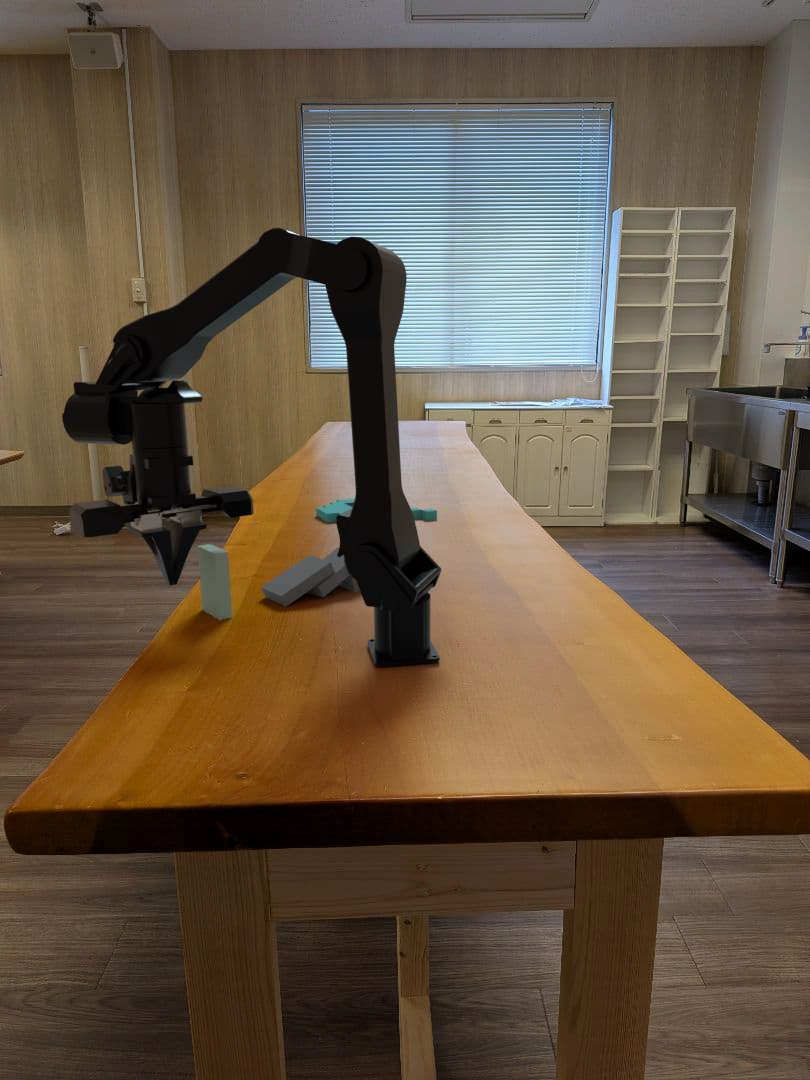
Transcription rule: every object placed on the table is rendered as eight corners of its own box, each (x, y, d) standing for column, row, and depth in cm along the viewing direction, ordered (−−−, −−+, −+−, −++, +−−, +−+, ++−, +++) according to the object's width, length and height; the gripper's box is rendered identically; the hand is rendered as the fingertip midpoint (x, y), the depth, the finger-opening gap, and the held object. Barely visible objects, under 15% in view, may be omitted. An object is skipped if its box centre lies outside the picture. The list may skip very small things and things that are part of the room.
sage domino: (214, 607, 90) (210, 544, 88) (232, 617, 86) (227, 551, 84) (202, 609, 89) (197, 546, 87) (219, 620, 85) (214, 554, 83)
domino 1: (281, 596, 89) (330, 562, 93) (260, 587, 93) (309, 554, 96) (285, 606, 90) (334, 572, 93) (265, 597, 93) (313, 564, 97)
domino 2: (318, 587, 92) (361, 551, 96) (295, 581, 95) (337, 547, 99) (323, 597, 92) (365, 561, 97) (300, 591, 96) (342, 556, 100)
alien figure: (394, 505, 158) (306, 513, 150) (394, 494, 158) (305, 502, 150) (437, 522, 141) (339, 532, 132) (437, 510, 140) (339, 520, 132)
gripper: (211, 435, 90) (219, 557, 94) (48, 446, 79) (65, 583, 83) (252, 442, 82) (259, 575, 85) (76, 455, 71) (93, 608, 74)
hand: (171, 584), depth 82 cm, fingers closed
